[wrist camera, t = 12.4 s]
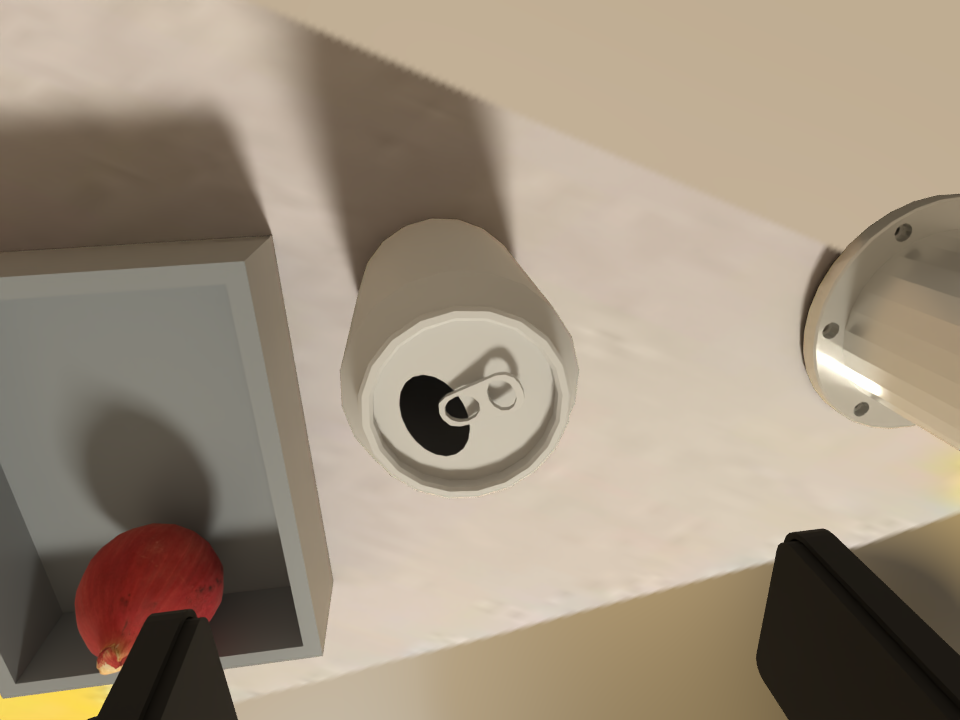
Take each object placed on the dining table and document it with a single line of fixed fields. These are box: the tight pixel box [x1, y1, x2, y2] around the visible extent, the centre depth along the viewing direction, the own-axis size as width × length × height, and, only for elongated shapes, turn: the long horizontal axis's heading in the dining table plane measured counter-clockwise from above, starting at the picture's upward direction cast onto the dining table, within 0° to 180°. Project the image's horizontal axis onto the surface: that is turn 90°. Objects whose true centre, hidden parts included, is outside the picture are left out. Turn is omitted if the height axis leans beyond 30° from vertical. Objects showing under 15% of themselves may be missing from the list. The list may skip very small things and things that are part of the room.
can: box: [340, 219, 579, 498], centre depth 22 cm, size 8×8×12 cm
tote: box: [0, 235, 333, 699], centre depth 27 cm, size 15×20×5 cm
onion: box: [75, 523, 224, 675], centre depth 26 cm, size 6×6×8 cm
